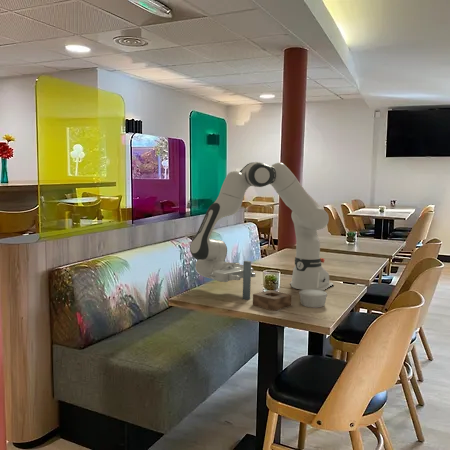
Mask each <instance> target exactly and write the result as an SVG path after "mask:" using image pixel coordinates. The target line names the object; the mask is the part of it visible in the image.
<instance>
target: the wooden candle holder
mask: <svg viewBox="0 0 450 450" xmlns="http://www.w3.org/2000/svg"><path fill="white" fill-rule="evenodd" d="M292 296H293V295H292V294H290V293H289V294H288V293H286V292H280V291H277V290H272V289H268V290H264V291H260V292H257V293H252V306H255V307H259V308H263V309H266V310H269V311H273V312H275V311H278V310H283V309H285V308H288V307H292Z"/></svg>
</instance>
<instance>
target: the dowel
mask: <svg viewBox="0 0 450 450" xmlns="http://www.w3.org/2000/svg"><path fill="white" fill-rule="evenodd" d="M243 265H244V267H243V278H242V300H251V284H252V283H251V282H252V281H251V279H252V277H251V267H252V261H250V260H244V261H243Z"/></svg>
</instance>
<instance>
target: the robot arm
mask: <svg viewBox="0 0 450 450" xmlns="http://www.w3.org/2000/svg"><path fill="white" fill-rule="evenodd" d="M268 185H270V186H271V187H272V188H273V189H274V190H275V192H276V193H277V195H278V196H279V197H280V199H281V200H282V202H283V203H284V204H285V206H286V207H288V208H289V209H290V210H291V220H292V223H293V226H294V233H295V241H296V242H295V243H296V245H295V257H294V266H293V269H292V277H291V281H290V282H289V284H290V287H292V288H293V289H298V290H300V291H301V290H320V291H325V289H326V290H328V289H329V288H328V287H330V286H332V285H333V284H334V285H335V283H333V282H331V281H330V273H329V272H328V271H327V270H326V269H325V268H324V267H323V266H322V263H323V264H324V263H325V260H326V259H325V258H322V257H320V256H321V255H320V254H321V240H320V239H319V236H318V235H319V234H318V231H320V230H322V229H324V228H326V227H327V225H328V224H329V220H330V218H329V217H330V216H329V213H328V212H327V211H326V210H325V209H324V208H323V207H321V206H320V205H319V203H318V202H317V201H316V200H315V199H314V198H313V197H312V196H311V195H310V194H309V193H308V192H307V191H306V189H305V188H304V187H303V185H302V184H301V183H300V182H299V180H298V178H297V177H296V176H295V174H294V173H293V172H292V171H291V169H290V168H289V167H287V165H286V164H284V163H283V162H276V163H273V164H271V165H269V164H266V163H264V162H260V161H255V162H249V163H247V164H246V165H245V166H244V167H242V169H240V170H239V171H235V170H233V171H230V172H229V173H228V174H227V175H226V177H225V179H224V180H223V183H222V185H221V188H220V191H219V194H218V196H217V198H216V200H215V201H214V202H213V203H212V204H210V206H209V207H208V208H207V211H206V213H205V215H204V217H203V219H202V222H201V224H200V225H199V228H198V230H197V232H196V234H195V235H194V237H193V239H192V240H191V242H190V245H189V251H190V254H191V256H192V257H193V258H194V260H196V262H195V271H196V272H197V273H198V274H199V276H200V277H201V276H202V277H204V278H206V279H207V278H208V279H210V280H212V279H213V280H214V281H217V282H220V283H222V282H223V283H227V282H229V281H240V280H241V279H243V267H244V264H241V263H240V262H230V261H226V258H227V256H228V247H227V244H226V242H225V241H223V240H220V239H215V238H211V235H212V233H213V230H214V229H215V226H216V224H217V222H218V221H219V220H221V219H222V218H225V217H226V218H227V217H230V216H233V215H235V214H236V213H238V212H239V211H240V209H241V207H242V204H243V201H244V199H245V198H244V197H245V194H246V192H247V190H248V189H249V188H250V187H257V188H263V187H266V186H268ZM254 270H255V269H254V268H253V267H252V266H251V278H255V277H256V272H254ZM329 282H330V283H329ZM332 287H333V286H332ZM327 288H328V289H327ZM330 288H331V287H330Z"/></svg>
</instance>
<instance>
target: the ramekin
mask: <svg viewBox="0 0 450 450" xmlns="http://www.w3.org/2000/svg"><path fill="white" fill-rule="evenodd" d="M298 294H299V298H300V303H301V305H302V306H304V307H307V308H312V309H314V308H322V307H324V306H325V304H326V301H327V297H328V293H327V292H326V291H325V290H323V291H320V290H301V289H300V290H299V291H298Z"/></svg>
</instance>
